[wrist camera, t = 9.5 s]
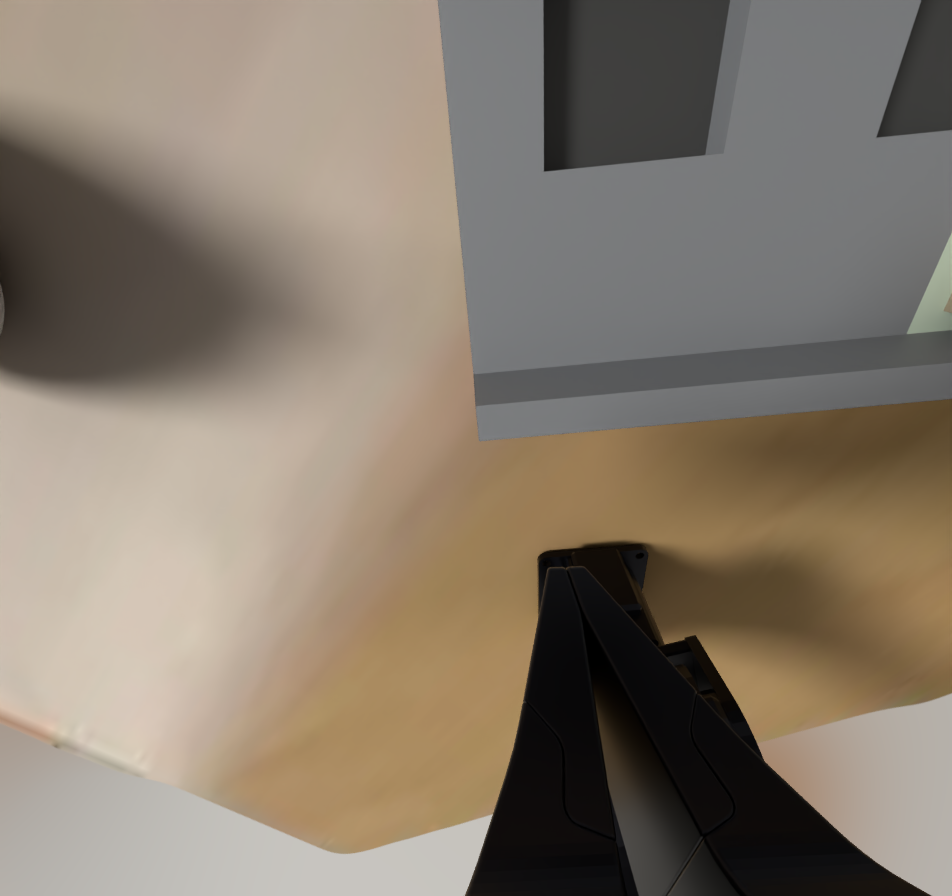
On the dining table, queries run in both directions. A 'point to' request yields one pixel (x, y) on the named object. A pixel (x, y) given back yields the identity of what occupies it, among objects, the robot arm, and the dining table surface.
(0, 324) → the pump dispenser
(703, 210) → the box
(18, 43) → the dining table surface
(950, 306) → the birch block
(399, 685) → the dining table surface
